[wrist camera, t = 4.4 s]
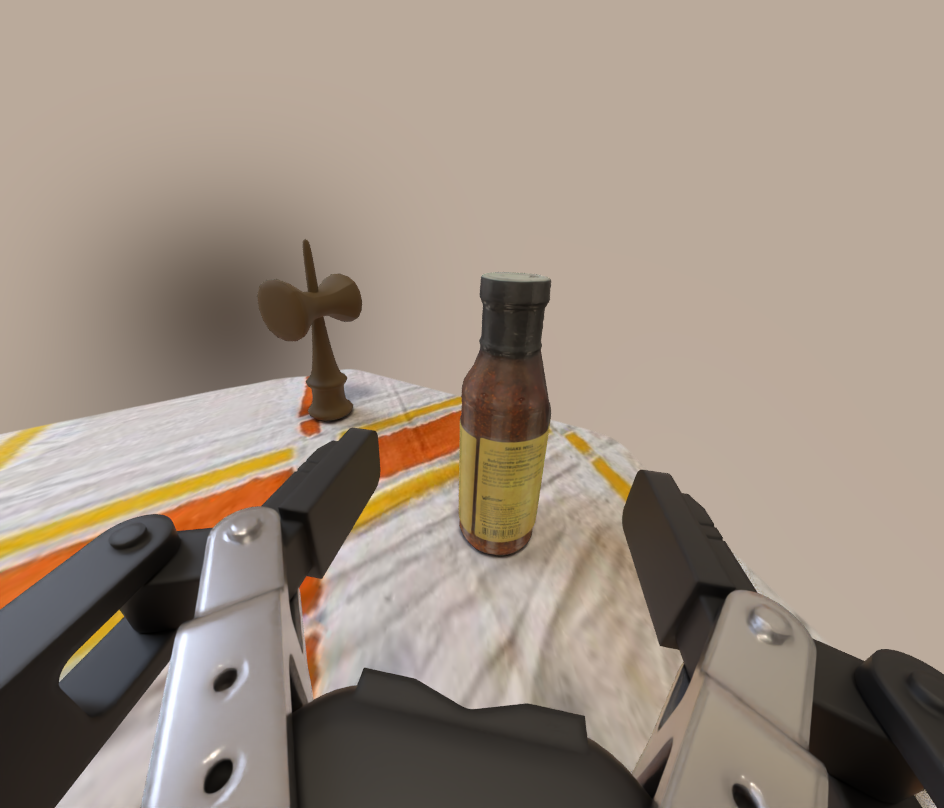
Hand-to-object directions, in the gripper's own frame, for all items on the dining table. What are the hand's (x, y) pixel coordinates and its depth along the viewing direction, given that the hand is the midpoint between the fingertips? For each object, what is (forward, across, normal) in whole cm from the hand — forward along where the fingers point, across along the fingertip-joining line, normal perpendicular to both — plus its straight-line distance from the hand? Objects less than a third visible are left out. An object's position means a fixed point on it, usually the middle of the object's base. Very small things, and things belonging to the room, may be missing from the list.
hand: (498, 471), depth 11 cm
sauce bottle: (+12, 0, +16) cm, 20 cm away
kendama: (+26, +22, +16) cm, 37 cm away
